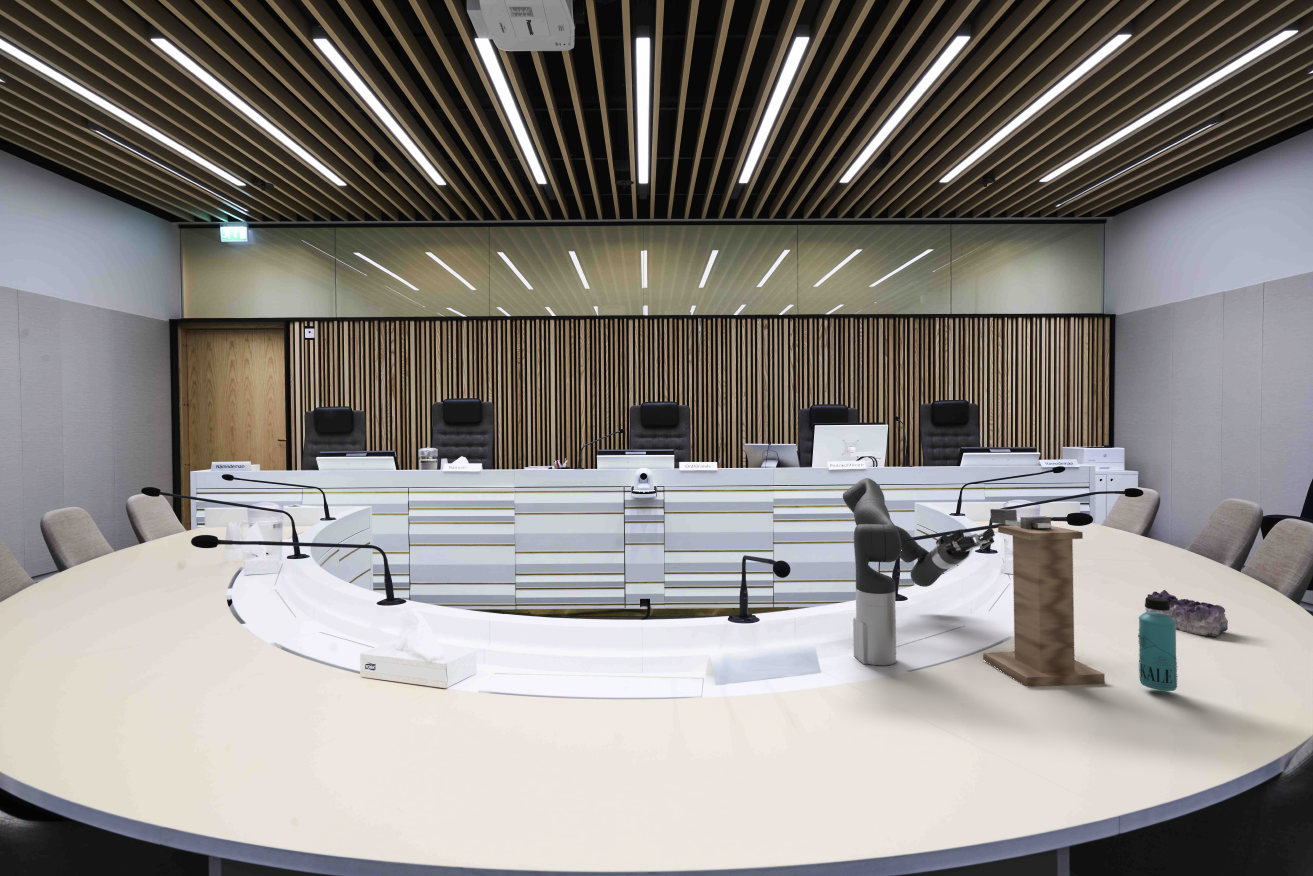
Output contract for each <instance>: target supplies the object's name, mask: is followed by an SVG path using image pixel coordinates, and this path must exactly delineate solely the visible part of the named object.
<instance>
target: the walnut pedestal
mask: <svg viewBox="0 0 1313 876" xmlns="http://www.w3.org/2000/svg"><path fill="white" fill-rule="evenodd" d="M1020 520H1021V526H1015V525H998V526H997V533H1000V534H1004V535H1008V536H1012V569H1013V570H1012V571H1013V574H1012V575H1013V576H1012V578H1013V580H1012V581H1013V585H1012V587H1013V629H1014V630H1013V632H1014V633H1013V634H1014V635H1013V636H1014V637H1013V640H1014V641H1013V642H1014V643H1013V644H1014V646H1013V647H1014V651H996V652H995V651H992V652H983V653H982V660H985V661H986V662H988V663H990V664H991V665H993V666H995V667H996V668H998V669H999V670H1001V671H1002V672H1001V671H1000V672H1001V673H1003V672H1004V673H1005V675H1006V674H1007V675H1006V676H1008V675H1009V676H1011V677H1012V678H1011V677H1010V678H1011V679H1013V678H1014V679H1015V680H1014V679H1013V680H1014V681H1016V680H1017V682H1018V683H1019V682H1020V683H1019V684H1021V683H1022V684H1021V685H1023V686H1025V687H1026V686H1031V687H1049V686H1050V687H1052V686H1071V685H1072V686H1073V685H1091V684H1092V685H1093V684H1105V683H1106V682H1105V681H1106V678H1105V677H1106V676H1105V675H1106V674H1105V673H1103V672H1101V671H1099V670H1098V669H1095V668H1093V667H1090V666H1088V665H1087V664H1084V663H1083V662H1080V661H1078V660H1076V659H1075V614H1074V611H1075V609H1074V608H1075V607H1074V559H1073V558H1074V553H1073V552H1074V550H1073V543H1074V541H1073V540H1081V539H1083V533H1084V532H1083V531H1079V530H1074V529H1070V528H1063V527H1058V526H1054V525H1052V517H1051V516H1046V515H1045V516H1042V515H1041V516H1037V515H1036V516H1020ZM1031 523H1050V524H1051V528H1034V527H1031ZM1083 540H1084V539H1083ZM986 662H985V663H986ZM988 663H987V664H988ZM991 665H990V666H991ZM993 666H992V667H993ZM996 668H995V669H996ZM998 669H997V670H998ZM999 670H998V671H999ZM1004 673H1003V674H1004ZM1009 676H1008V677H1009Z"/></svg>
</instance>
